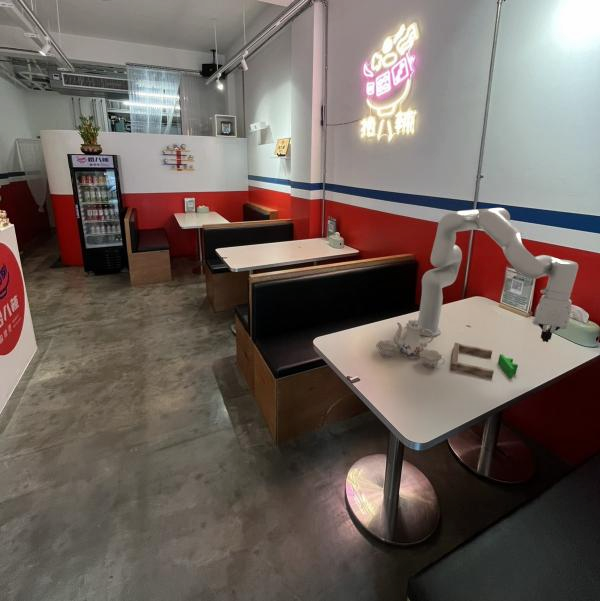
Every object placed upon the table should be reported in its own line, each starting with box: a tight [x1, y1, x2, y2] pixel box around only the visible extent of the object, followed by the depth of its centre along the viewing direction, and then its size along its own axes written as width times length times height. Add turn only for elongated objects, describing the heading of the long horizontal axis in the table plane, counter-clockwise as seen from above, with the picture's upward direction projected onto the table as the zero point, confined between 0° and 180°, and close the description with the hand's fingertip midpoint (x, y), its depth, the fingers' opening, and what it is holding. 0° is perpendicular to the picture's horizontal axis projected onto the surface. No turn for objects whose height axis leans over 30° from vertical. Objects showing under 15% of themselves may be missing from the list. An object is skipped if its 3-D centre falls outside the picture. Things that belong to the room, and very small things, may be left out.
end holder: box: [450, 342, 495, 379], centre depth 152 cm, size 15×20×3 cm
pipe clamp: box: [497, 353, 519, 379], centre depth 146 cm, size 11×4×5 cm, turn 173°
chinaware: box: [375, 319, 445, 368], centre depth 153 cm, size 28×17×17 cm, turn 70°
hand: (544, 340), depth 138 cm, fingers closed
